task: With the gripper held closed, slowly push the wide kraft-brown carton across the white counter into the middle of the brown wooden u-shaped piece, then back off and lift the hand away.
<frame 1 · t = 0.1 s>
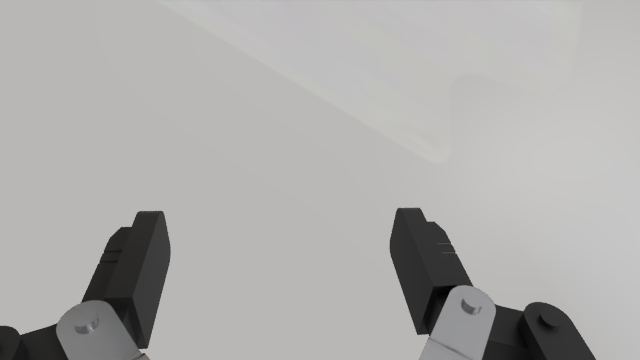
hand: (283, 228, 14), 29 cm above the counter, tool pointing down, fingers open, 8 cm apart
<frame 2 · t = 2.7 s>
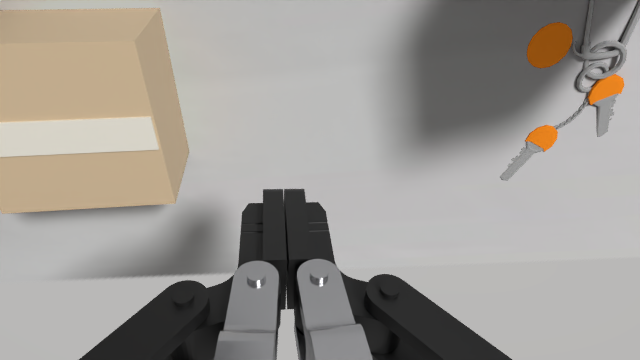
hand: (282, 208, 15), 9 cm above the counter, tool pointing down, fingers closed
key chain: (565, 86, 25), on the counter
kraft carton: (98, 88, 22), on the counter
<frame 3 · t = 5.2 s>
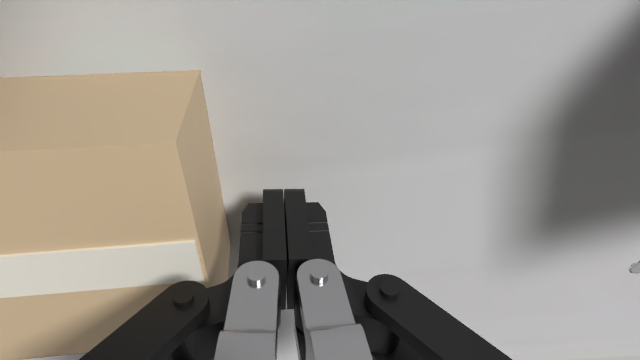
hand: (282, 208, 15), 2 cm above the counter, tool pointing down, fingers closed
kraft carton: (112, 172, 16), on the counter, touching gripper
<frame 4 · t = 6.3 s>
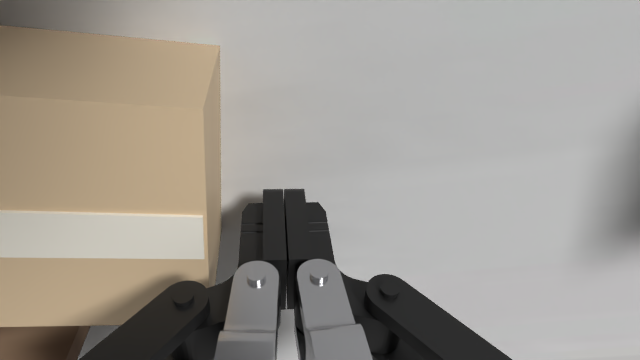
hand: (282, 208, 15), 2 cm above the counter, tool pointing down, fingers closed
kraft carton: (109, 140, 15), on the counter, touching gripper
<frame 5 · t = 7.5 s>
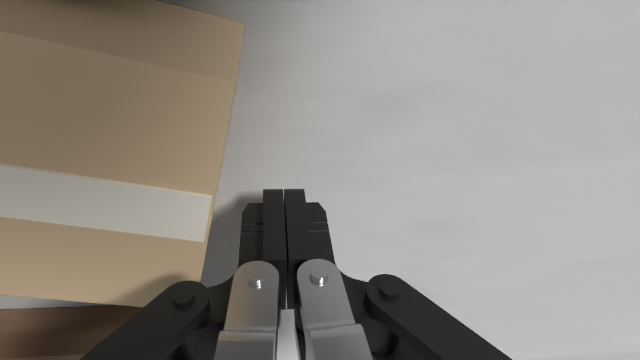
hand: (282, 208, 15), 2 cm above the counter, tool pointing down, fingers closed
brown wooden u-shaped piece: (12, 177, 15), on the counter
kraft carton: (109, 107, 14), on the counter, touching gripper
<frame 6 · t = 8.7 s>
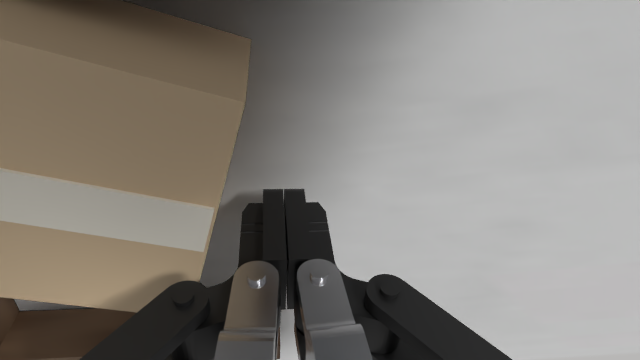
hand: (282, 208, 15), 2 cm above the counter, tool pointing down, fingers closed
brown wooden u-shaped piece: (123, 179, 16), on the counter
kraft carton: (111, 113, 15), on the counter, touching brown wooden u-shaped piece, gripper
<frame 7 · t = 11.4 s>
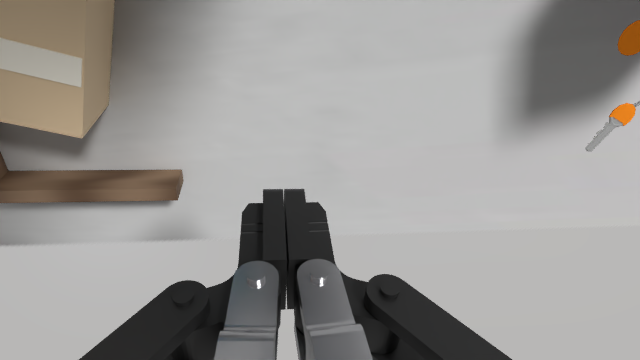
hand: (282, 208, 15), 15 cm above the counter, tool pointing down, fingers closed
brown wooden u-shaped piece: (69, 70, 26), on the counter
kraft carton: (41, 27, 25), on the counter
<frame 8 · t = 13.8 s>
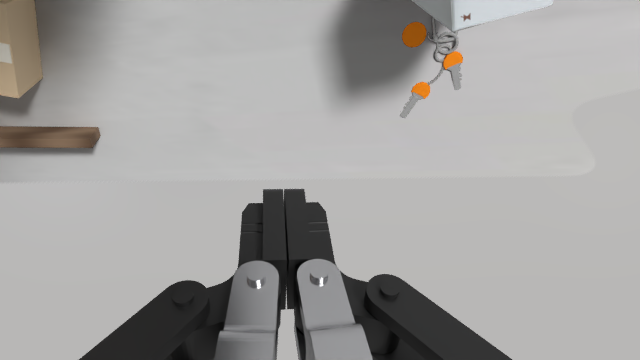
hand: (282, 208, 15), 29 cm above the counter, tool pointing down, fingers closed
key chain: (430, 58, 44), on the counter
brown wooden u-shaped piece: (10, 55, 39), on the counter
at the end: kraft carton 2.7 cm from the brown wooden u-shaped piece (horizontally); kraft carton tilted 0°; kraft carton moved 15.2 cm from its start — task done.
